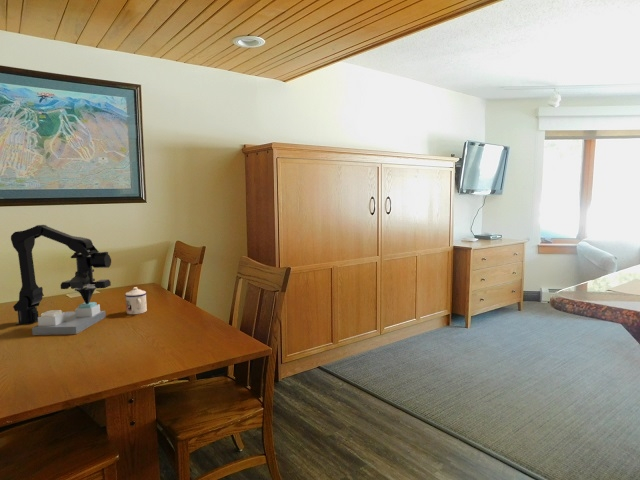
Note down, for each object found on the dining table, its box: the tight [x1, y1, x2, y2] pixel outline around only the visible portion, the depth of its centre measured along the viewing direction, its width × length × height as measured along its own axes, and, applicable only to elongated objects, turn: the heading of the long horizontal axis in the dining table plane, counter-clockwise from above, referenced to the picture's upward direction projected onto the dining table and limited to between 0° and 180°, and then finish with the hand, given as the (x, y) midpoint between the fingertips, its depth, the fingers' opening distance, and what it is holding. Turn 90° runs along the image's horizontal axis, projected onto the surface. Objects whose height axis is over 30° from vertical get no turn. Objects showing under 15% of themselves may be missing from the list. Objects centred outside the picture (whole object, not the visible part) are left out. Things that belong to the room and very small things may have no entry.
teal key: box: [78, 301, 97, 308], centre depth 180 cm, size 5×5×3 cm
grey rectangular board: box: [31, 303, 107, 336], centre depth 175 cm, size 17×23×6 cm
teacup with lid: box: [124, 286, 148, 315], centre depth 192 cm, size 12×9×12 cm
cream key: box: [40, 309, 63, 317], centre depth 168 cm, size 5×5×3 cm
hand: (87, 303), depth 180 cm, fingers closed, pressing on teal key
